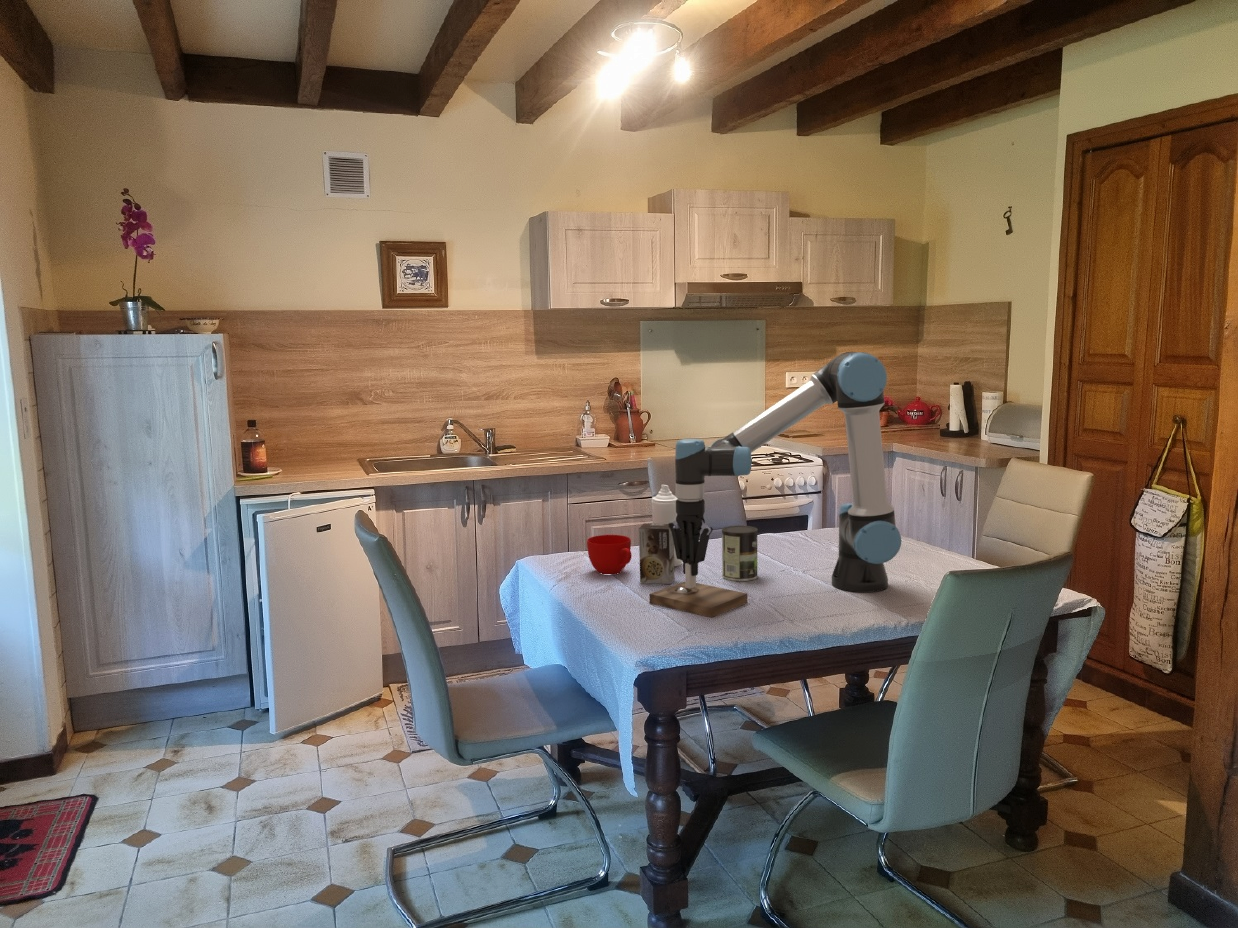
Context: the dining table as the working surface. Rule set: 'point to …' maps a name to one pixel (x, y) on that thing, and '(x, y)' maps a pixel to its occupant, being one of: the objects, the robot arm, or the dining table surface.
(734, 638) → the dining table surface
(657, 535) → the coffee box
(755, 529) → the coffee can
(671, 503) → the spray can
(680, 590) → the steel ball
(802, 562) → the dining table surface
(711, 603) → the wooden board
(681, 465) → the robot arm
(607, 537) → the ceramic cup
